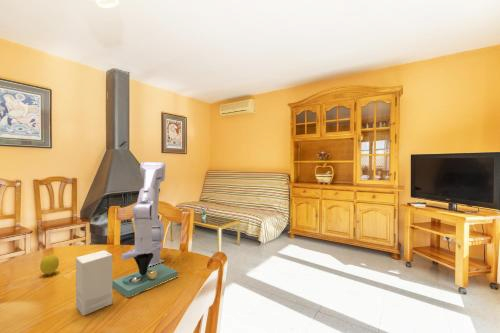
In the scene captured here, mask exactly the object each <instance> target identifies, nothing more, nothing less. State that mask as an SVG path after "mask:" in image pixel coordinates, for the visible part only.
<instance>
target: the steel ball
mask: <svg viewBox="0 0 500 333" xmlns="http://www.w3.org/2000/svg"><path fill="white" fill-rule="evenodd" d="M139 281H141V279H140V278H139V277H134V278H133V279H132V280H131V283H135V282H139Z"/></svg>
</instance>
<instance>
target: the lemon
mask: <svg viewBox="0 0 500 333" xmlns="http://www.w3.org/2000/svg"><path fill="white" fill-rule="evenodd" d="M59 266H60V261H59V258H58V256H57V255H55V254H52V253H49V254H48V255H45V256H44V257H43V258H42V259H41V261H40V265H39V268H40V271H41V272H42V273H43V274H46V275H52V274H53V273H54V272H56V270H58V268H59Z"/></svg>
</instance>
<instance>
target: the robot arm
mask: <svg viewBox="0 0 500 333" xmlns="http://www.w3.org/2000/svg"><path fill="white" fill-rule="evenodd" d="M139 173H140V175H141V176H140V177H141V179H142V181H143V187H141V189H140V190H139V193H138V197H137V201H136V204H134V205H133V208H132V218H133V226H134V248H133V249H131V250H128V251H126V252H123V253H121V260H122V261H127V260H129V259H132V258H133V260H134V262H135V263H136V264H137V268H138V271H139V272H140V274H141V275H142V276H143V275H146V273H147V269H148V268H150V266H151V267H153V265H154V266H156V264H157V265H159V264H158V263H160V264H162V263H161V262H163V263H164V262H165V260H164V259H162V258H161V250H163V247H164V245H163V243H161V242H163V240H164V238H165V224H164V222H163V221H161V219H159V218H158V217H159V196H160V186H161V183H162V182H165V179H166V163H165V162H164V161H141V163H140V166H139Z"/></svg>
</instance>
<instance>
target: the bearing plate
mask: <svg viewBox="0 0 500 333" xmlns="http://www.w3.org/2000/svg"><path fill="white" fill-rule="evenodd" d="M151 270H155V271H157V277H156V278H155V279H153V280H150V279H149V278H148V273H149V271H151ZM178 274H179V271H178V270H176V269H175V268H172V267H169V266H167V265H165V264H163V263H160V264H157V265H154V266H151V267H148V269H147V273H146V275H143V276H142V275H141V274H140V272H139V270H138V271H136V272H133V273H130V274H127V275H124V276H121V277H118V278H116V279H114V280H113V279H112V289H114V290H115V291H116V292H118V293H120V294H121V295H122V294H123V295H122V296H124V295H125V296H126V297H125V296H124V297H125V298H127V297H130V296H132V295H135V294H137V293H140V292H142V291H144V290H146V289H148V288H151V287H153V286H155V285H158V284H160V283H162V282H165V281H167V280H169V279H171V278H174V277H176V276H179V275H178ZM134 277H139V278H140V279H141V281H139V282H135V283H131V280H132V279H133V278H134ZM142 293H143V292H142ZM140 294H141V293H140ZM135 296H136V295H135Z"/></svg>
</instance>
